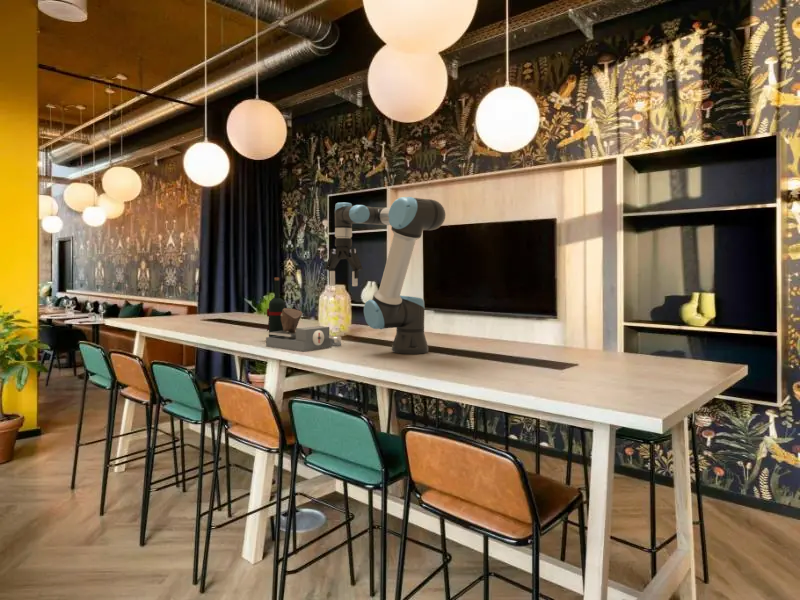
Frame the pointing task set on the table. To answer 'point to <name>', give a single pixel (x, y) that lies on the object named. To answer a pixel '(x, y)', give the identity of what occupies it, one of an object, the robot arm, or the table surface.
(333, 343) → the spacer
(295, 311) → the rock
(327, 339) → the scale base
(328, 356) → the table surface
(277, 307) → the wine bottle
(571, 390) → the table surface
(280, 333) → the pan
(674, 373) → the table surface
